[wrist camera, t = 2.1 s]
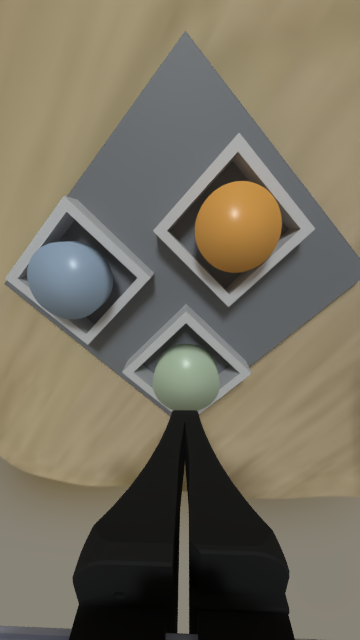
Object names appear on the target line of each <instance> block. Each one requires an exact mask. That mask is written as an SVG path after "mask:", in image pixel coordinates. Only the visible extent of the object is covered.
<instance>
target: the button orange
mask: <svg viewBox="0 0 360 640" xmlns="http://www.w3.org/2000/svg"><path fill="white" fill-rule="evenodd" d="M281 229H282V217H281V212H280V208H279V206H278V204H277V202H276V200H275V198H274V197H273V195H272V194H271V193H270V192H269V191H268V190H266V189H265V188H264V187H262V186H260V185H259V184H256V183H253V182H249V181H235V182H231V183H228V184H225V185H223V186H221V187H220V188H218V189H217V190H215V191H214V192H213V193H212V194H211V195H210V196H209V197H208V198H207V199H206V200H205V202H204V203H203V205H202V206H201V208H200V210H199V212H198V215H197V218H196V222H195V230H194V231H195V240H196V243H197V246H198V248H199V250H200V252H201V254H202V255H203V257H204V258H205V259H206V260H207V261H208V262H209V263H210V264H211V265H212V266H214V267H215V268H217V269H219V270H222V271H225V272H231V273H239V272H245V271H248V270H251V269H253V268H255V267H257V266H259V265H260V264H262V263H263V262H264V261H265V260H266V259H267V258H268V257H269V256H270V255H271V254H272V252H273V251H274V249H275V247H276V246H277V243H278V241H279V238H280V235H281Z"/></svg>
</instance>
